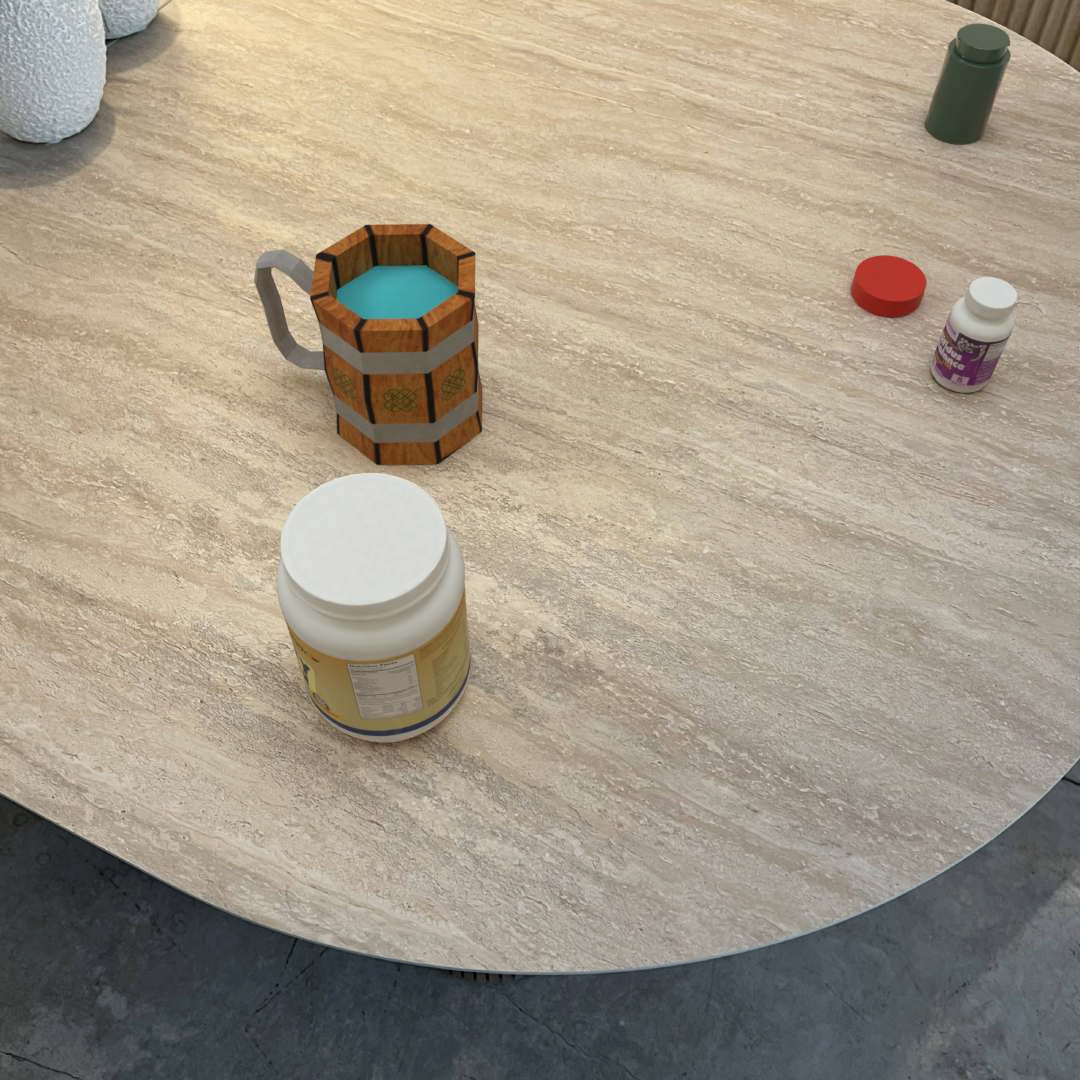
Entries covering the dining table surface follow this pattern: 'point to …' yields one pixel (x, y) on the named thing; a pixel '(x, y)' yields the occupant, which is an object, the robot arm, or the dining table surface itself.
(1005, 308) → the pill bottle
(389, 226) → the mug
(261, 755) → the dining table surface
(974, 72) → the jar
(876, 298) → the lid
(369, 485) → the supplement tub
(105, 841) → the dining table surface
